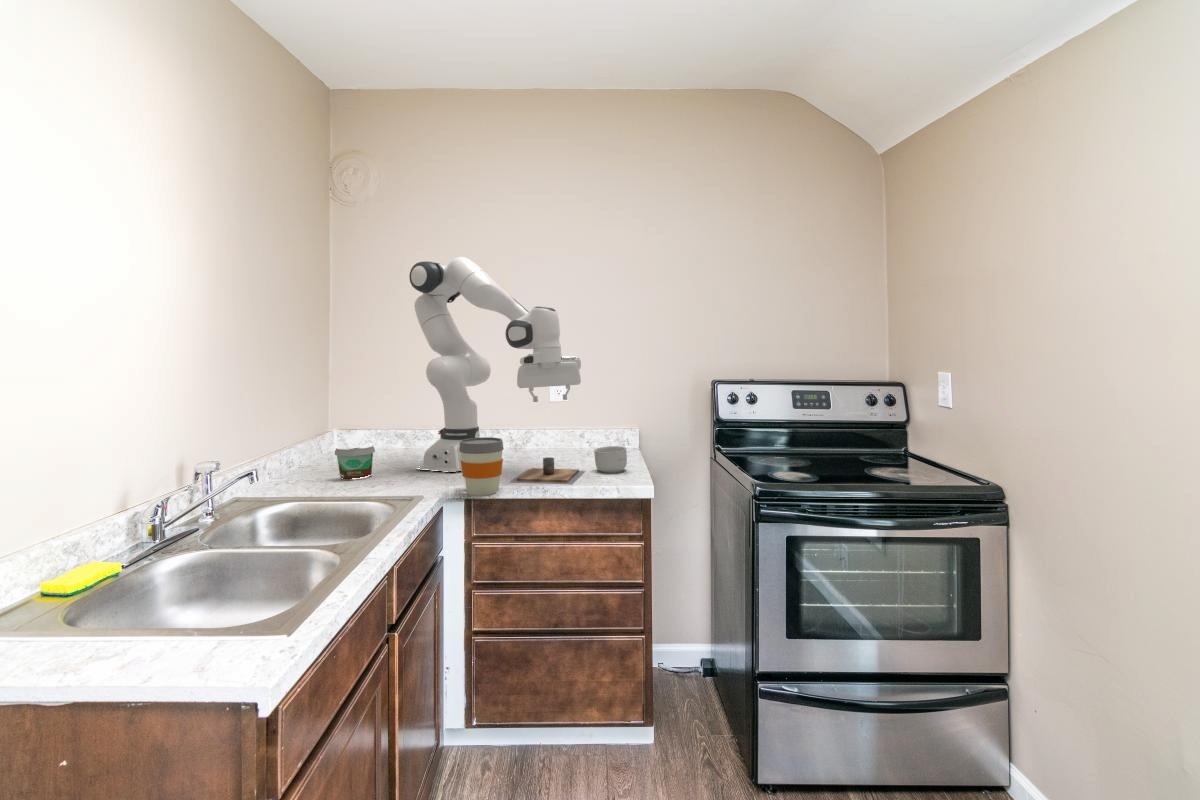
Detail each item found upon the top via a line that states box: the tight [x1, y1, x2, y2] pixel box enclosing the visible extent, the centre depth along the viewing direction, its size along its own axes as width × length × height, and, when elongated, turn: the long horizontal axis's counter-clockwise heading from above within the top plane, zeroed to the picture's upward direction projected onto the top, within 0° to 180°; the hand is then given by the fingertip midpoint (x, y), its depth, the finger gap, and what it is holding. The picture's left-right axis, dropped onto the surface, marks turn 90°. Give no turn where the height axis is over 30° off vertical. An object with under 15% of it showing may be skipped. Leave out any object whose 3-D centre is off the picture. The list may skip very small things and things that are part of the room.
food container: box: [334, 445, 376, 480], centre depth 198 cm, size 12×6×10 cm, turn 118°
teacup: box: [593, 445, 628, 474], centre depth 206 cm, size 14×11×8 cm
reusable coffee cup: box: [459, 436, 504, 497], centre depth 178 cm, size 12×12×15 cm
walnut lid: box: [517, 456, 580, 483], centre depth 196 cm, size 16×16×6 cm
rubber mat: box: [508, 468, 587, 486], centre depth 197 cm, size 20×20×1 cm
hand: (550, 400), depth 197 cm, fingers open, 8 cm apart
